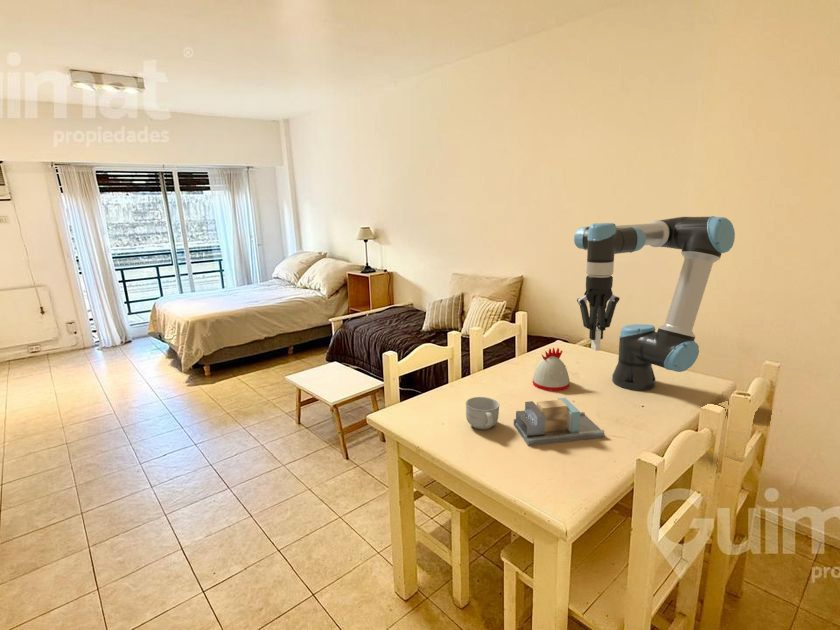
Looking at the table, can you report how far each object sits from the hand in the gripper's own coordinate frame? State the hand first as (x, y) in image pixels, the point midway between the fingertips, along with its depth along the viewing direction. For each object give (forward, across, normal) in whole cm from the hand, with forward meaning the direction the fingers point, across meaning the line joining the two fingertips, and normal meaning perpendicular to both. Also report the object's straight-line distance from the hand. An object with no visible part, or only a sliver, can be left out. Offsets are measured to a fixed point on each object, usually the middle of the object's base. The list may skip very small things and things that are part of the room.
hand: (595, 349), depth 137 cm
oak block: (+23, +16, +5) cm, 28 cm away
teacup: (+25, +36, -2) cm, 44 cm away
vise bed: (+24, +14, +5) cm, 28 cm away
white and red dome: (+25, +1, -30) cm, 39 cm away
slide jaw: (+23, +11, +5) cm, 26 cm away
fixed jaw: (+23, +23, +5) cm, 33 cm away
